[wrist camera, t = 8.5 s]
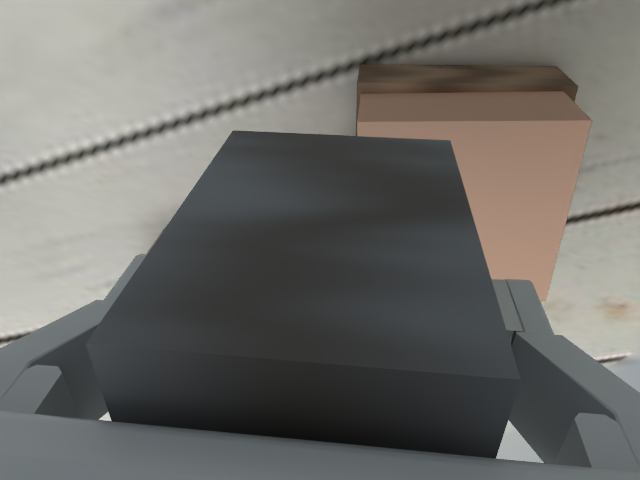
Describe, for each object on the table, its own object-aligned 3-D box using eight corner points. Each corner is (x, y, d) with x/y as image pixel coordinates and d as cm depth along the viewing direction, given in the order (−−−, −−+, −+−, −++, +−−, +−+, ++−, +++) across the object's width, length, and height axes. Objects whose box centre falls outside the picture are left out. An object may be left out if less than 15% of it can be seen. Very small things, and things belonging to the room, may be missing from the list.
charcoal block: (450, 140, 11) (520, 380, 6) (424, 309, 14) (453, 590, 8) (233, 130, 12) (85, 343, 6) (248, 296, 15) (157, 555, 9)
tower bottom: (554, 64, 34) (578, 86, 30) (516, 229, 41) (531, 265, 37) (360, 62, 35) (357, 82, 31) (356, 222, 42) (352, 256, 38)
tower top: (563, 91, 30) (592, 120, 26) (527, 256, 37) (545, 301, 32) (360, 93, 31) (357, 121, 27) (361, 252, 38) (358, 295, 34)
